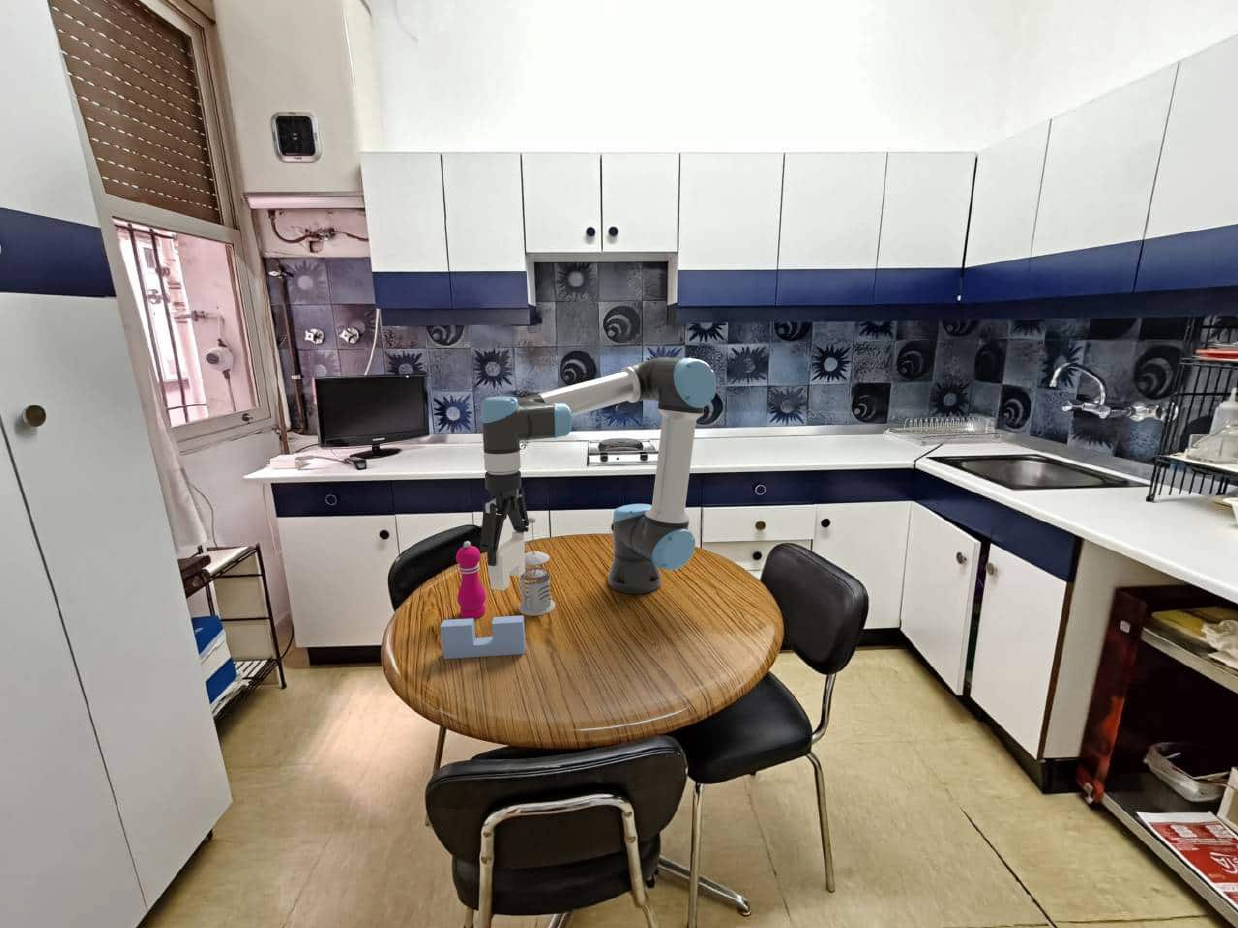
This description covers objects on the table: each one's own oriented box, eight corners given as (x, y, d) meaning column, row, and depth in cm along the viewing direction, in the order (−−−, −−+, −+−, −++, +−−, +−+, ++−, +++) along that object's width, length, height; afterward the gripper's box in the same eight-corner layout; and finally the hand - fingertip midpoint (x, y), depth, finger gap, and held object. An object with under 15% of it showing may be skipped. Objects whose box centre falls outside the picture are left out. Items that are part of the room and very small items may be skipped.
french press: (562, 601, 148) (558, 513, 142) (538, 621, 137) (533, 528, 132) (531, 595, 152) (526, 509, 146) (506, 614, 142) (499, 523, 136)
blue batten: (525, 646, 127) (523, 615, 125) (524, 653, 124) (522, 622, 122) (446, 651, 125) (443, 619, 123) (443, 658, 122) (440, 626, 120)
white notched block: (513, 570, 126) (512, 537, 124) (525, 571, 125) (523, 539, 123) (491, 588, 117) (488, 553, 115) (503, 590, 116) (501, 555, 114)
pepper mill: (479, 621, 138) (473, 547, 134) (453, 618, 140) (446, 545, 135) (491, 607, 145) (486, 537, 140) (466, 605, 146) (460, 535, 142)
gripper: (512, 458, 127) (517, 548, 132) (456, 482, 106) (464, 587, 111) (542, 460, 125) (545, 551, 130) (490, 485, 104) (496, 592, 109)
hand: (507, 568), depth 120 cm, fingers closed on white notched block, 10 cm apart
